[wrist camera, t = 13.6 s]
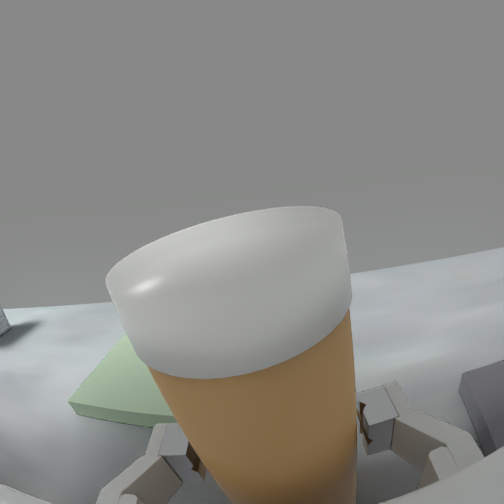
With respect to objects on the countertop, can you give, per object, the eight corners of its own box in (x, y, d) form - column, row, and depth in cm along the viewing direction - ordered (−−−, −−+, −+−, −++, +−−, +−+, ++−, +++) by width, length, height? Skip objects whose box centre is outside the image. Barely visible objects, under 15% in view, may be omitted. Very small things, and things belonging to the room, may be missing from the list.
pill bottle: (357, 551, 8) (361, 265, 4) (239, 551, 9) (57, 306, 5) (356, 465, 12) (332, 196, 9) (258, 470, 14) (166, 229, 10)
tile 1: (220, 432, 17) (213, 417, 17) (76, 413, 20) (67, 400, 20) (254, 325, 29) (251, 311, 29) (140, 334, 32) (135, 322, 32)
